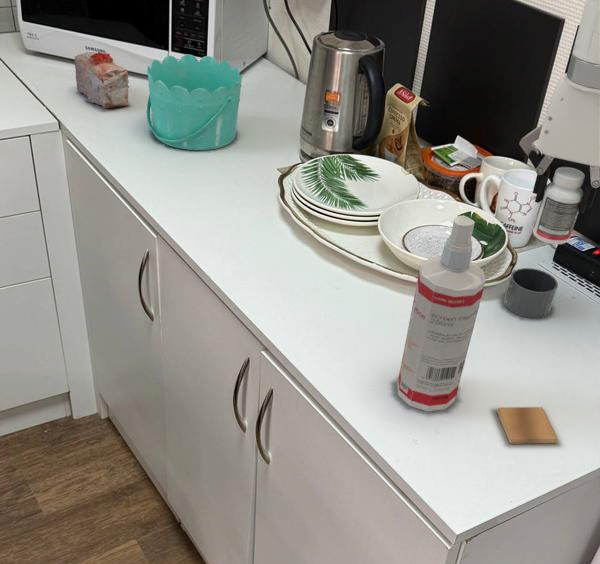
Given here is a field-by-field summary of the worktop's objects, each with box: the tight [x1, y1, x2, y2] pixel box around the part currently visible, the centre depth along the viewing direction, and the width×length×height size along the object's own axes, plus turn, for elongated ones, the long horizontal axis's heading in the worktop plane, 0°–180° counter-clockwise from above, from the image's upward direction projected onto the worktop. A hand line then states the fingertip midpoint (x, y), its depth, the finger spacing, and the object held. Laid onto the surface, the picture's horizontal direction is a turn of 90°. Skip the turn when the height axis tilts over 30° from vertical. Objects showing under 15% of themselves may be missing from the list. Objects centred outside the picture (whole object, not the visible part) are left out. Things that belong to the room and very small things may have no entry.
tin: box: [503, 267, 559, 319], centre depth 123 cm, size 7×7×4 cm
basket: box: [146, 53, 243, 151], centre depth 161 cm, size 19×18×13 cm
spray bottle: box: [397, 214, 487, 412], centre depth 98 cm, size 8×8×25 cm
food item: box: [74, 51, 130, 109], centre depth 173 cm, size 14×8×10 cm, turn 41°
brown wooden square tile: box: [496, 406, 558, 445], centre depth 102 cm, size 6×6×1 cm
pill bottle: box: [532, 166, 586, 245], centre depth 113 cm, size 5×5×10 cm
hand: (560, 203), depth 113 cm, fingers closed on pill bottle, 5 cm apart
